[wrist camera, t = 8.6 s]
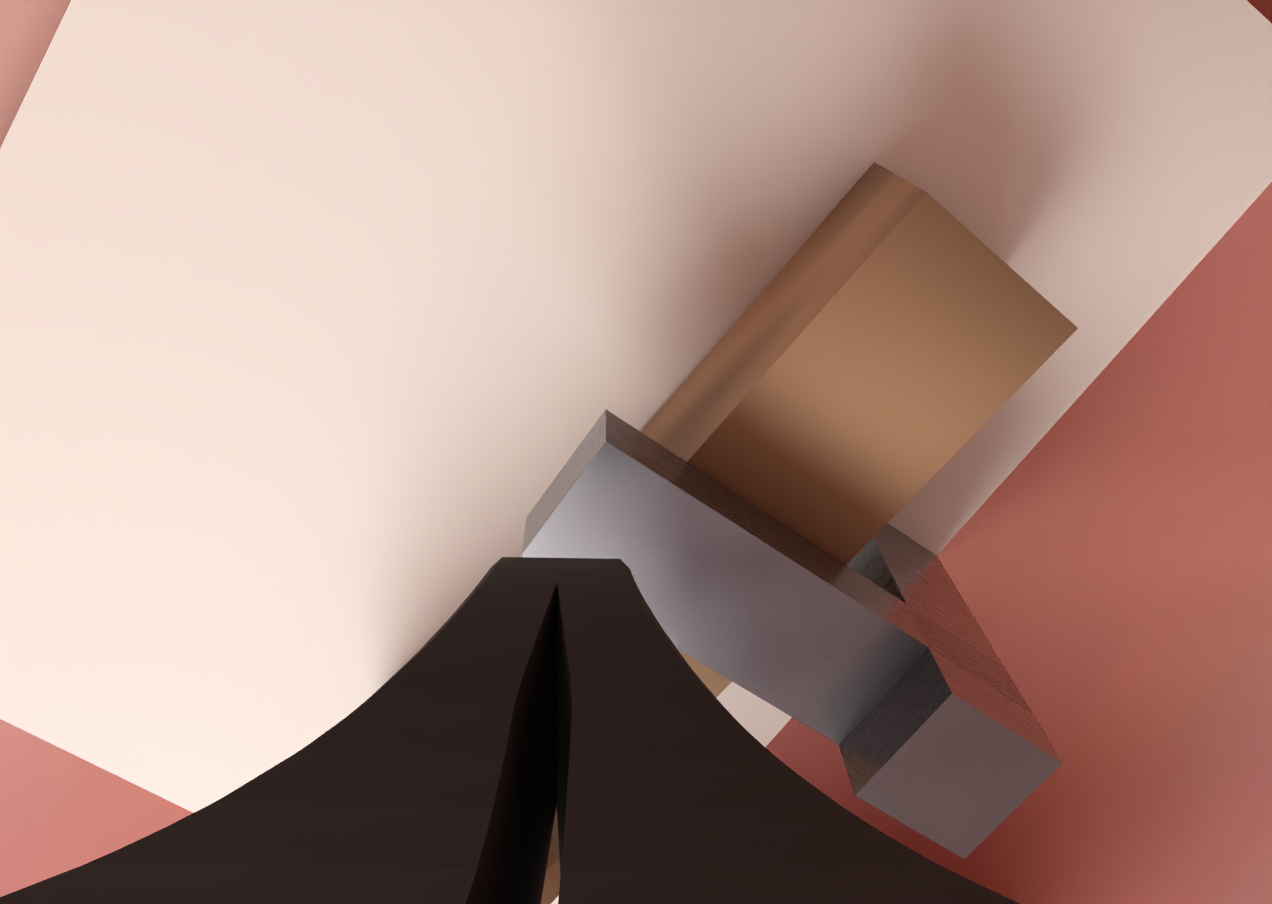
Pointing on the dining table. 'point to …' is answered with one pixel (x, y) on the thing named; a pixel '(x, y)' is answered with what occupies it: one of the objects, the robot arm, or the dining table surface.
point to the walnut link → (857, 374)
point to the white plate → (494, 296)
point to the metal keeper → (811, 631)
